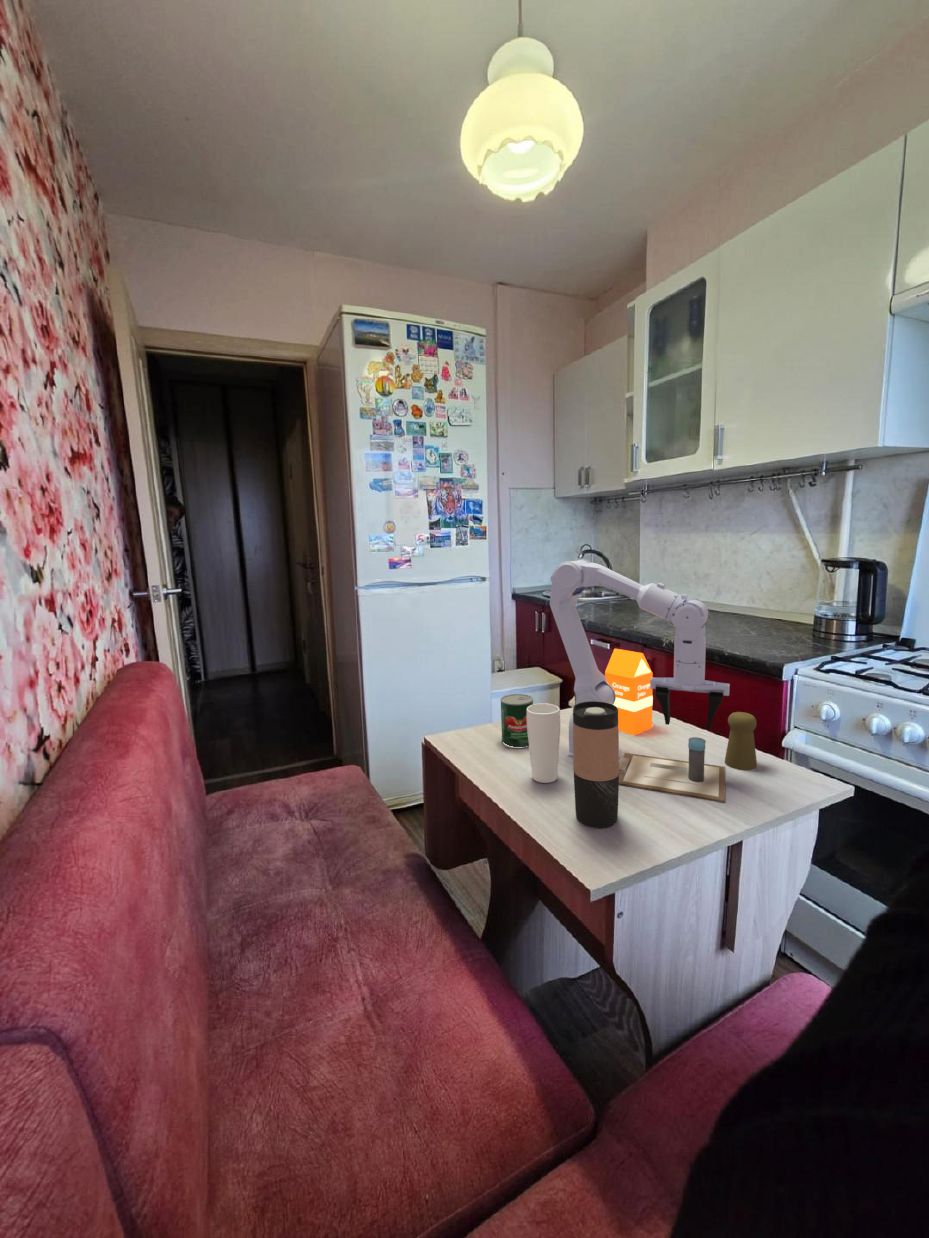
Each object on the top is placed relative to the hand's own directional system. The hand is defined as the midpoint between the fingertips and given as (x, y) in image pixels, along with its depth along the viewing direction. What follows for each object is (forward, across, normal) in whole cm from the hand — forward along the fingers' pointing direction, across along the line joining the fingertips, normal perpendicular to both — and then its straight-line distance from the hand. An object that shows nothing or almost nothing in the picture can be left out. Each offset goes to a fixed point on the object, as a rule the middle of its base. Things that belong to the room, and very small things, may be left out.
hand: (687, 725), depth 103 cm
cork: (+10, +10, +7) cm, 16 cm away
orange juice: (+10, -15, +21) cm, 28 cm away
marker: (+9, +2, -4) cm, 10 cm away
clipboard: (+10, -3, -4) cm, 11 cm away
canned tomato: (+10, -38, +2) cm, 40 cm away
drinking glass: (+10, -26, -14) cm, 31 cm away
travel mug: (+10, -13, -25) cm, 30 cm away
